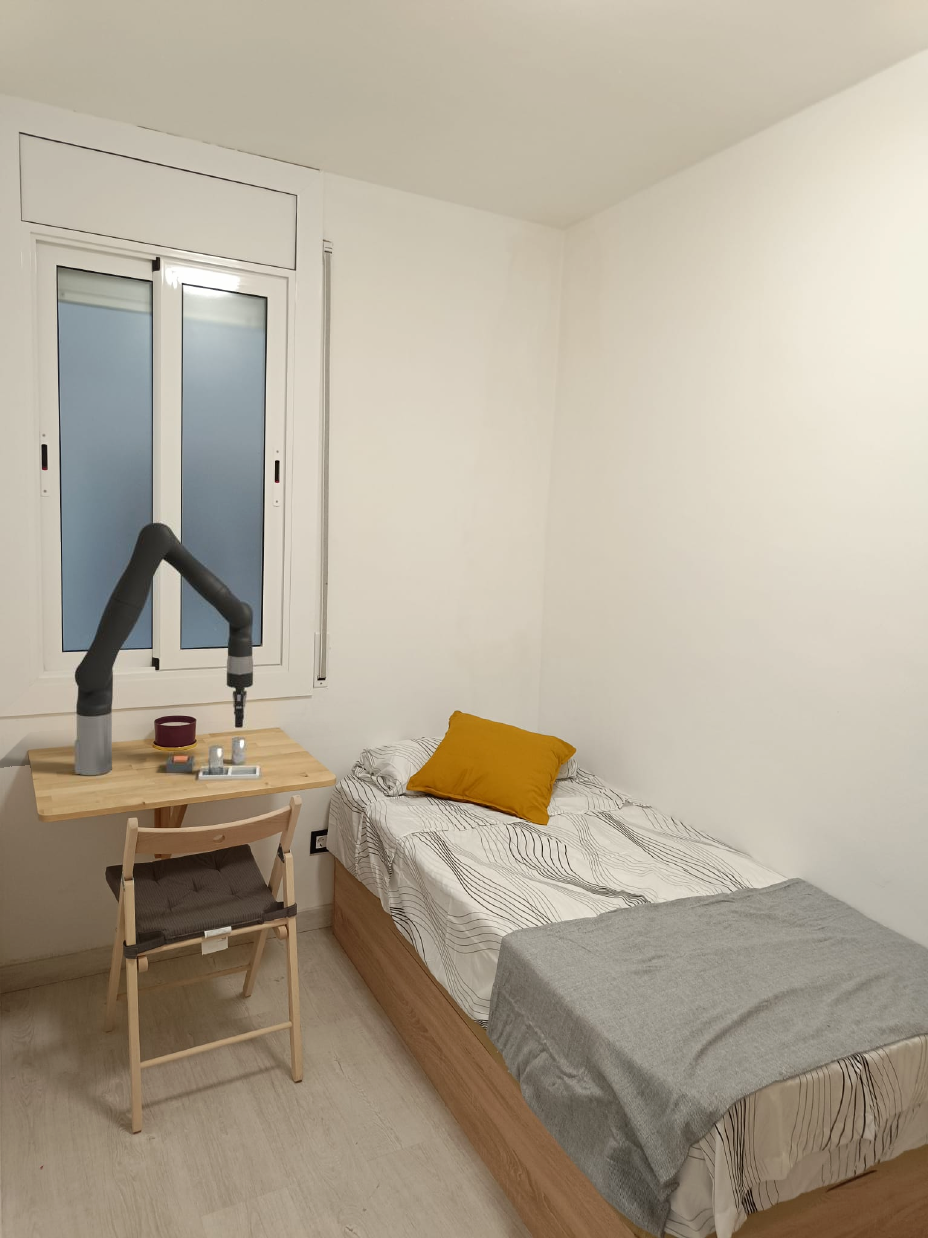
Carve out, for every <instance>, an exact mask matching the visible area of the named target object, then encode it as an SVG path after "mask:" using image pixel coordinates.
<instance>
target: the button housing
mask: <svg viewBox="0 0 928 1238" xmlns="http://www.w3.org/2000/svg"><path fill="white" fill-rule="evenodd" d="M175 756H176V755H173V756H172V755H169V756H168V759H167V761H166V767H165V768H166V774H192V773H193V771H194V767H195V755H187V756H188V762H173V760H174V757H175Z"/></svg>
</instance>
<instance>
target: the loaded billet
mask: <svg viewBox="0 0 928 1238" xmlns="http://www.w3.org/2000/svg"><path fill="white" fill-rule="evenodd" d="M223 766H224V746H222V745H210V746H209V747H208V766H207V767H208V775H223Z"/></svg>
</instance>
